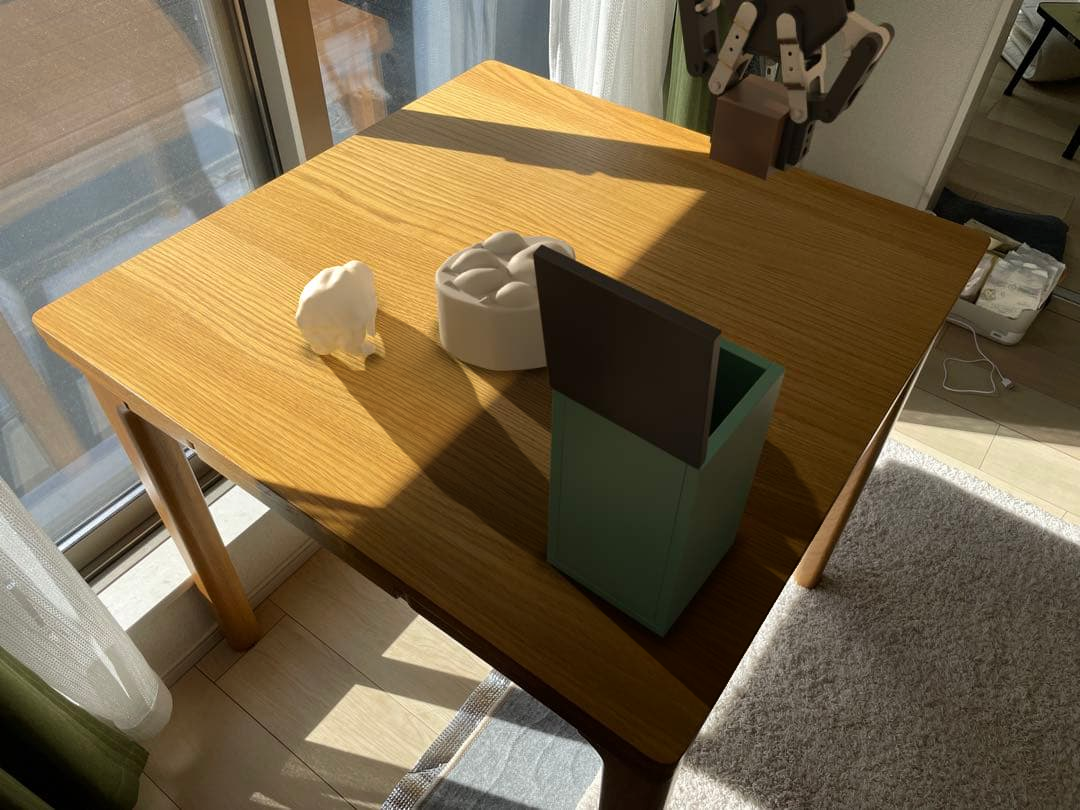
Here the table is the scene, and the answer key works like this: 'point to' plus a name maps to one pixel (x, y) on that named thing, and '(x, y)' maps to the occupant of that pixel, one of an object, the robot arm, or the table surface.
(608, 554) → the green box
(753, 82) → the block
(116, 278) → the table surface
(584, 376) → the box lid
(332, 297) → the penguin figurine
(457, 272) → the lumpy-topped squat cylinder
